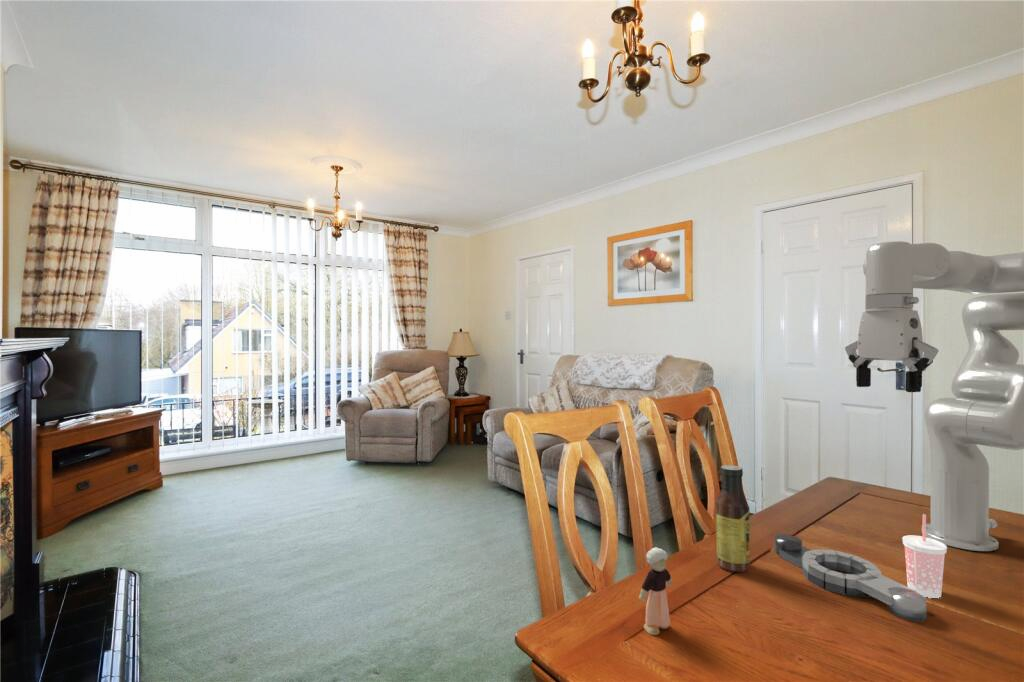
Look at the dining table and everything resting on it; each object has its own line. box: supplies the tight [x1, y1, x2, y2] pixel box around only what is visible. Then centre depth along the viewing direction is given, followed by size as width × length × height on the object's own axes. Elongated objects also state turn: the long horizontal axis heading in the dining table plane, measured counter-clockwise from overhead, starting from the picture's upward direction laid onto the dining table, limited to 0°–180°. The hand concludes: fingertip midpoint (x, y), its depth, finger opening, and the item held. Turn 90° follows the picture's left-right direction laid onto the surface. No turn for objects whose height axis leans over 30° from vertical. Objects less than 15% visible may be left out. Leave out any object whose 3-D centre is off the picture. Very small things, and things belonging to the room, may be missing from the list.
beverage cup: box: [901, 513, 948, 599], centre depth 86 cm, size 6×6×14 cm
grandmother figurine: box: [638, 546, 674, 636], centre depth 77 cm, size 8×4×13 cm, turn 137°
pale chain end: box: [802, 548, 927, 623], centre depth 87 cm, size 12×20×3 cm, turn 18°
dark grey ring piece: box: [774, 533, 872, 598], centre depth 95 cm, size 12×20×3 cm, turn 18°
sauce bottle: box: [715, 464, 751, 573], centre depth 97 cm, size 7×6×20 cm
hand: (887, 389), depth 97 cm, fingers open, 9 cm apart
